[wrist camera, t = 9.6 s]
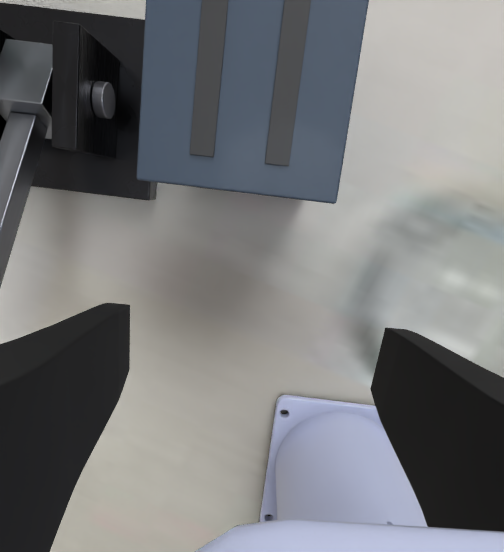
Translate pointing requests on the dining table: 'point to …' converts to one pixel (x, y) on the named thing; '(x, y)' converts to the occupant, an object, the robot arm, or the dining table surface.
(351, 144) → the dining table surface
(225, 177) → the toaster body
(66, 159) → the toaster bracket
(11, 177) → the lever
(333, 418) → the robot arm
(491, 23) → the dining table surface
